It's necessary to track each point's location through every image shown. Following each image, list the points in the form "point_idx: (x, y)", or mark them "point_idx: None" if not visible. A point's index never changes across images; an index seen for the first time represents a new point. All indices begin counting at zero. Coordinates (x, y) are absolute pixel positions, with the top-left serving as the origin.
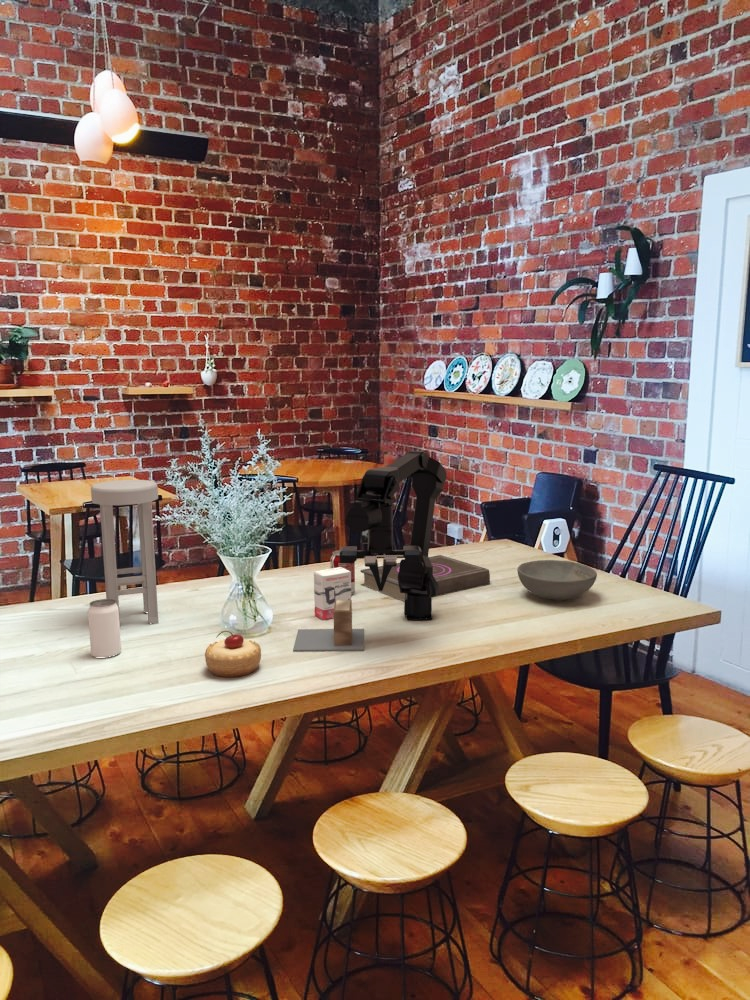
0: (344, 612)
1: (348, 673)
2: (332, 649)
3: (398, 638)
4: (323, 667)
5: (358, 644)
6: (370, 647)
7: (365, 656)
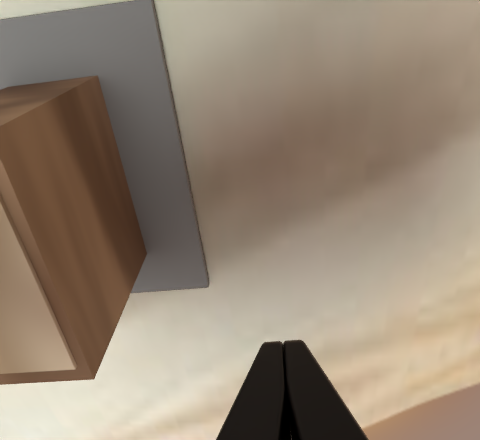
0: (55, 377)
1: (193, 432)
2: None
3: (360, 125)
4: (106, 403)
5: (174, 242)
6: (230, 247)
7: (223, 327)
